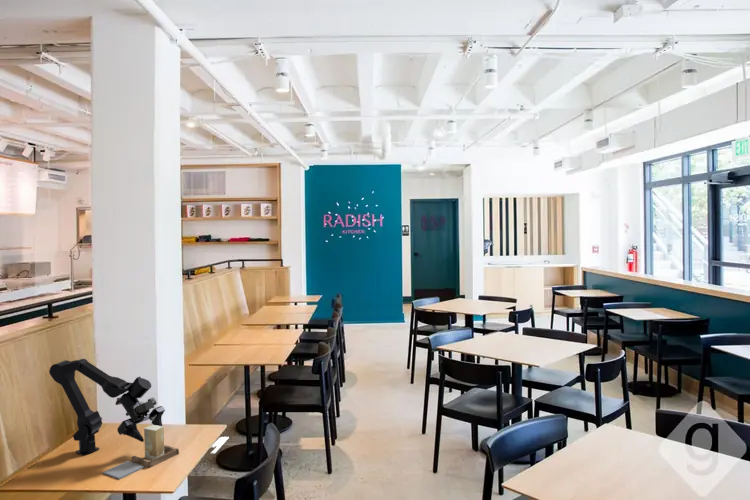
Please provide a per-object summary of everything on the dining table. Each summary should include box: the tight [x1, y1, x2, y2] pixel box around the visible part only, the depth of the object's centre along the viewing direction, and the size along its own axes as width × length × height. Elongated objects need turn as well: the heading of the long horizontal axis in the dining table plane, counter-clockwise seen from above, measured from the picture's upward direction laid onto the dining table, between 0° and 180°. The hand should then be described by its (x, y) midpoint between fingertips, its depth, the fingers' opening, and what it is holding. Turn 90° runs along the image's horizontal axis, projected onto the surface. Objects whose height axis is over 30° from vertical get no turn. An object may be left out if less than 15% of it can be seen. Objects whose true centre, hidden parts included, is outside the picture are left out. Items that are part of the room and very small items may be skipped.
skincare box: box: [143, 424, 165, 461], centre depth 197 cm, size 6×4×12 cm
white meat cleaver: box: [209, 436, 230, 455], centre depth 206 cm, size 5×15×1 cm, turn 174°
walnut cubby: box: [131, 444, 180, 468], centre depth 197 cm, size 11×13×2 cm
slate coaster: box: [102, 460, 145, 480], centre depth 187 cm, size 10×10×1 cm
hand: (153, 436), depth 197 cm, fingers open, 9 cm apart
